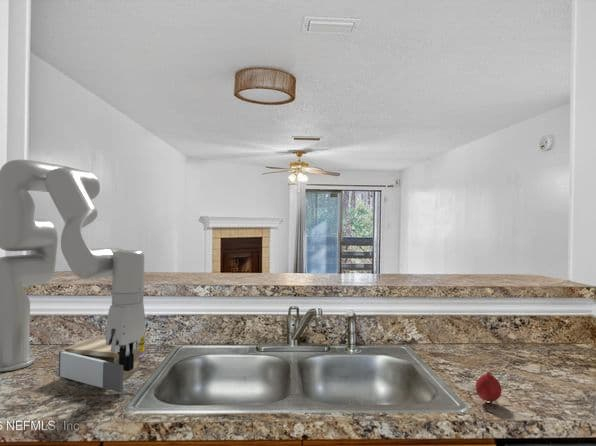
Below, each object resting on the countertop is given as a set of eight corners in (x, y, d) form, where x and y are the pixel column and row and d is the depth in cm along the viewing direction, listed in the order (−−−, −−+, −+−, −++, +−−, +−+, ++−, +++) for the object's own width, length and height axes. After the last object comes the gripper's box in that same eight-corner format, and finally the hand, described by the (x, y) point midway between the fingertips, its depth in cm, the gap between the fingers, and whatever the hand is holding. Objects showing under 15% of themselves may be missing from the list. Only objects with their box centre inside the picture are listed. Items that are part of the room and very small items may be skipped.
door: (57, 375, 110) (57, 351, 110) (61, 374, 112) (62, 350, 111) (119, 392, 101) (120, 366, 101) (123, 391, 102) (124, 365, 102)
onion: (471, 397, 105) (472, 366, 105) (494, 398, 105) (495, 367, 105) (480, 408, 100) (481, 375, 100) (505, 409, 99) (506, 375, 99)
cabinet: (63, 377, 112) (64, 348, 112) (88, 365, 122) (89, 338, 121) (117, 383, 109) (118, 353, 109) (138, 370, 119) (139, 342, 119)
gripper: (133, 292, 115) (131, 358, 115) (94, 302, 100) (92, 378, 100) (157, 294, 113) (155, 361, 113) (121, 304, 98) (119, 382, 98)
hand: (126, 369), depth 106 cm, fingers closed
